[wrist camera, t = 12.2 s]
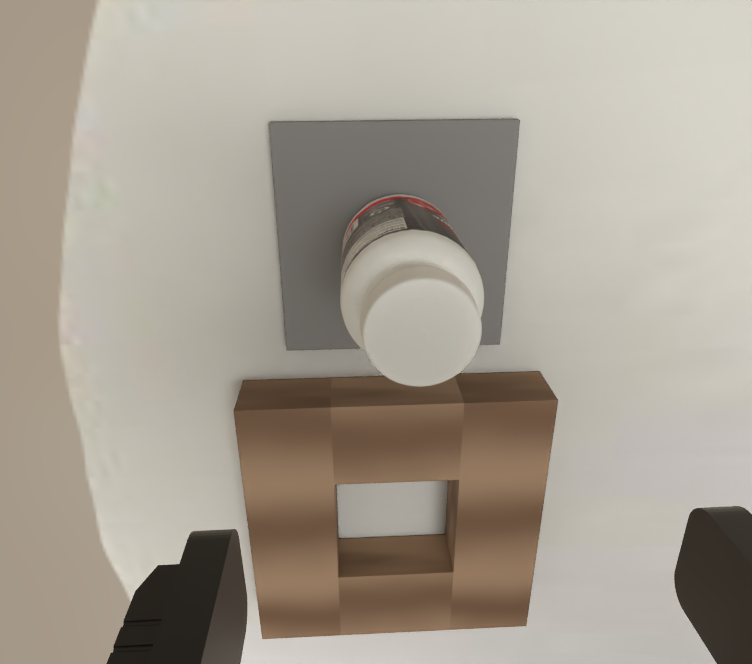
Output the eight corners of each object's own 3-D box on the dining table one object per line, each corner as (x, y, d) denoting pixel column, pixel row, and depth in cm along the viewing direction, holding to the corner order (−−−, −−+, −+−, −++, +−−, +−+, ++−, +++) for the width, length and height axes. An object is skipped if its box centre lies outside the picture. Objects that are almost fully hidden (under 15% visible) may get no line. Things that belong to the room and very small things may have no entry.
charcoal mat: (497, 339, 31) (499, 344, 31) (287, 345, 31) (286, 350, 30) (516, 118, 27) (520, 119, 26) (270, 121, 26) (268, 122, 26)
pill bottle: (476, 254, 28) (535, 344, 20) (390, 320, 30) (408, 433, 21) (407, 166, 26) (438, 222, 18) (317, 241, 28) (304, 328, 19)
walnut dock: (513, 586, 39) (526, 625, 36) (268, 597, 38) (262, 638, 35) (539, 371, 32) (558, 400, 29) (243, 380, 31) (233, 410, 29)
